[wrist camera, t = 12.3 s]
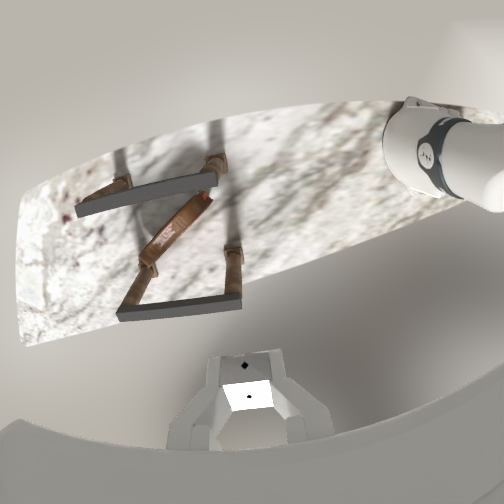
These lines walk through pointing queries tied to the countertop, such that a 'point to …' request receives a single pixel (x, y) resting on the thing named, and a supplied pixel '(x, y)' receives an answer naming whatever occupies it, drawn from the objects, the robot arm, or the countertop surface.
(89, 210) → the grey bar
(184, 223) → the tin
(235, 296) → the dark grey beam
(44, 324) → the countertop surface
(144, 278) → the wooden stanchion pair
